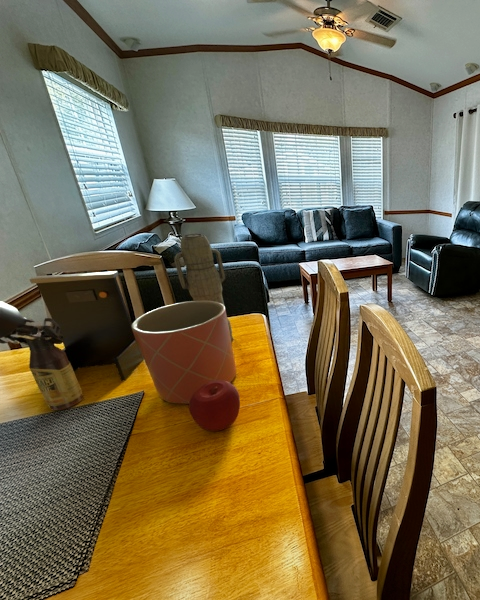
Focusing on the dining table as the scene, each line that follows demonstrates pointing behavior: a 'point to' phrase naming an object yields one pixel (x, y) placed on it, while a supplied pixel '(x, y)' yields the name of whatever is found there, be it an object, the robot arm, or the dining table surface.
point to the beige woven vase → (201, 270)
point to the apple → (215, 405)
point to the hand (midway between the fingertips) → (48, 341)
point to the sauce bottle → (53, 374)
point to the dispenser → (92, 320)
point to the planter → (185, 347)
